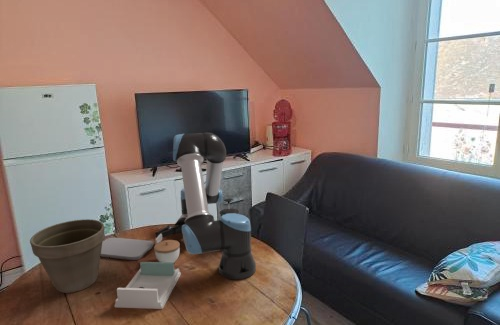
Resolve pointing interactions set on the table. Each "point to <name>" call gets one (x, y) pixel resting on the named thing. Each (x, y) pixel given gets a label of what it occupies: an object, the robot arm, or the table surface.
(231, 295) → the table surface
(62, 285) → the plant pot
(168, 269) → the pusher plate
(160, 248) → the lidded jar
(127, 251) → the tablet
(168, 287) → the pusher lane
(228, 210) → the french press
